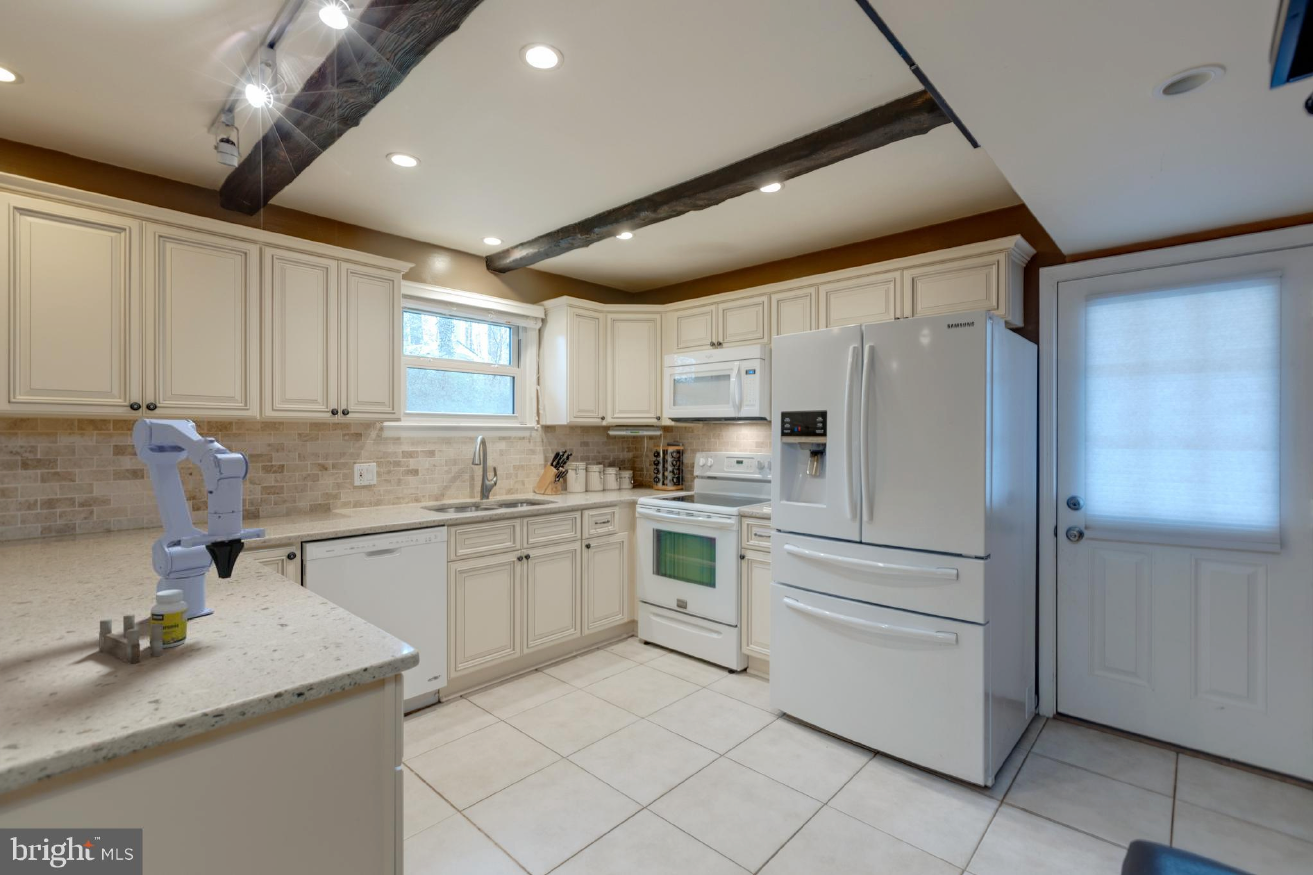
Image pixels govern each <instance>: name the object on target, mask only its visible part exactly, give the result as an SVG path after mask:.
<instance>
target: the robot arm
mask: <svg viewBox="0 0 1313 875" xmlns="http://www.w3.org/2000/svg"><path fill="white" fill-rule="evenodd" d="M131 438H132V443H133V446H134V450H135V453H136V455H137V459H138V460H140V461H142V462H143V463H146V467H147V470H148V474H149V479H150V482H151V485H152V489H153V493H154V498H155V500H156V505H157V508H158V512H159V517H160V520H161V524H162V528H163V531H164V534H162V535H161V536H160V537H159V538H157V539H156V540H155V541H154V542H153V545H152V546H151V554H152V559H151V563H152V568H153V571H154V572H155V573H156V574H157V575H158V576H159V577H161V578H160V579H158V581H157V584H156V587H155V588H156V589H155V591H156V593H155V594H157V593H158V592H161V591H166V590H183V599H182V601H184V602H186V603H187V607H188V608H187V620H188V619H192V618H196V617H200V616H204V615H205V616H206V615H209V614H213V613H215V609H212V608H207V607H206V603H207V602H206V601H207V600H206V598H207V596H206V587H207V586H206V585H207V584H206V580H207V579H206V575H207V573H210V569H211V568H213V567H214V565H215V569H216V572H217V576H218V579H222V580H225V579H231V578H232V573H233V570H234V567H235V564H236V562H237V559H238V557H239V555H240V553H241V552H242V551H243V549H244V548H245V542H244V541H246V540H252V539H264V538H266V529H265V528H263V527H258V528H246V529H243V480H245V479H246V478H247V477H248V475H249V472H250V462H249V459H248V457H247V456H246V454H244V452H239V451H238V452H231V451H230V450H228V449H227V448H226V447H224V446H223V445H221V444H220V443H219V442H217V441H216V440H217V439H215V438H214V437H202V436H201V435H199V433H198V432H197V426H196V423H195V422H193V421H192V420H191V419H158V418H157V419H156V418H143V417H142V418H139V419H138V420H137V421H136V422H135V423H134V425H133V430H132V437H131ZM186 458H188V459H189V460H190V461H191V462H192V463H193V464H195V465H196V466H197V467H199V468H200V469H201V474H202V478H203V479H204V488H205V491H207V532H205V531H203V530H202V529H199V528H196V527H194V525H193V521H192V518H191V514H190V510H189V506H188V502H187V499H186V495H185V492H184V487H183V484H182V481H181V476H180V473H179V469H178V466H177V465H178V464H177V463H178V462H180V461H182V460H185V459H186ZM157 603H158V602H156V601H155V605H156V604H157Z"/></svg>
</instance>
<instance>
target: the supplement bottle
mask: <svg viewBox="0 0 1313 875" xmlns="http://www.w3.org/2000/svg"><path fill="white" fill-rule="evenodd" d="M155 594H156V593H155ZM182 599H183V590H166V591H161V592H158V593H157V594H156V595H155V600H156V601H155V604H154V605H153V606H152V607H151V608H150V620H149V621H150V622H149V646H150V647H151V625H153V624H157V623H162V624H163V649H167V648H172V647H173V648H174V647H177V646H180V645H182V644H184V643H185V642H186V640H187V632H188V631H187V630H188V629H187V628H188V619H187V608H188V607H187V603H186V602H184V601H182ZM156 602H158V603H157V604H156ZM176 645H177V646H176Z"/></svg>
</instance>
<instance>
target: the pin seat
mask: <svg viewBox="0 0 1313 875" xmlns="http://www.w3.org/2000/svg"><path fill="white" fill-rule="evenodd" d="M122 619H123V621H122V622H123V630H122V631H123V632H122V633H123V636H120V635H118V634H115V633H113V628H112V627H113V626H112V624H113V620H112V618H111V619H110V618H107V619H102V620H100V621H99V634H98V635H99V636H98V637H99V638H98V641H99V643H98V644H99V645H98V646H99V647H98V651H99V653H105V654H107V655H110V656H112V657H115V658H117V659H120V660H122V661H124V662H126V664H132V665H133V664H138V663H140V662H141V658H140V657H141V654H140V653H141V643H140V628H136V626H135V625H136V614H134V613H132V614H131V613H130V614H126V615H125V614H124V615H123V618H122ZM163 649H164V648H163V624H162V623H157V624H153V625H151V646H150V657H151V658H157V657H161V656H162V655H163V654H164V653H163Z"/></svg>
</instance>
